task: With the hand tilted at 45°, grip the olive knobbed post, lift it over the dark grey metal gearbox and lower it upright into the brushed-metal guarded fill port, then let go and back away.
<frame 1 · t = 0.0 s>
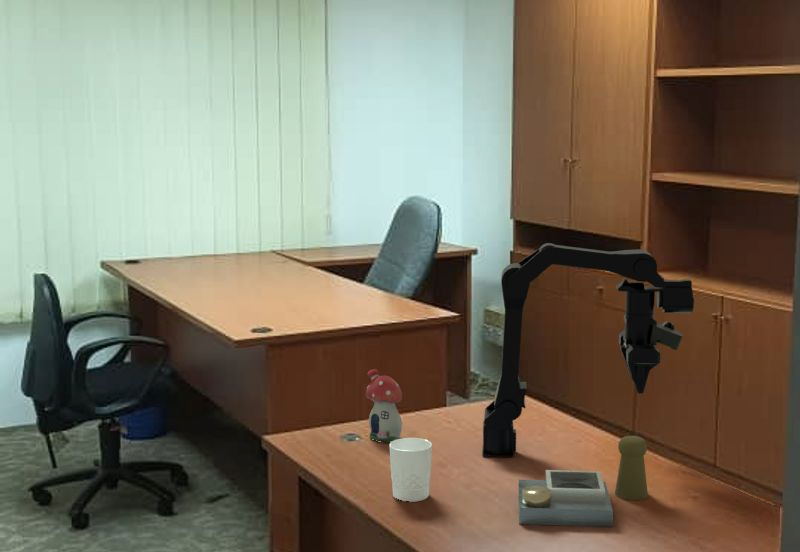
hand: (637, 387, 217), 15 cm above the table, tool pointing down, fingers open, 9 cm apart
decorative ornament: (384, 438, 232), on the table
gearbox: (563, 510, 190), on the table
white cup: (411, 496, 198), on the table
olive knobbed post: (631, 495, 198), on the table
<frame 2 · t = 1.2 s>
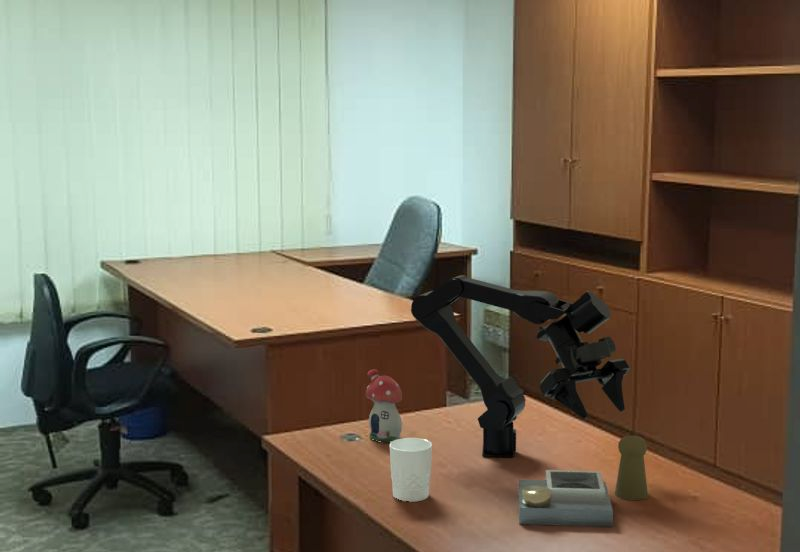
hand: (604, 414, 202), 13 cm above the table, tool tilted 45°, fingers open, 9 cm apart
nothing on the table moved.
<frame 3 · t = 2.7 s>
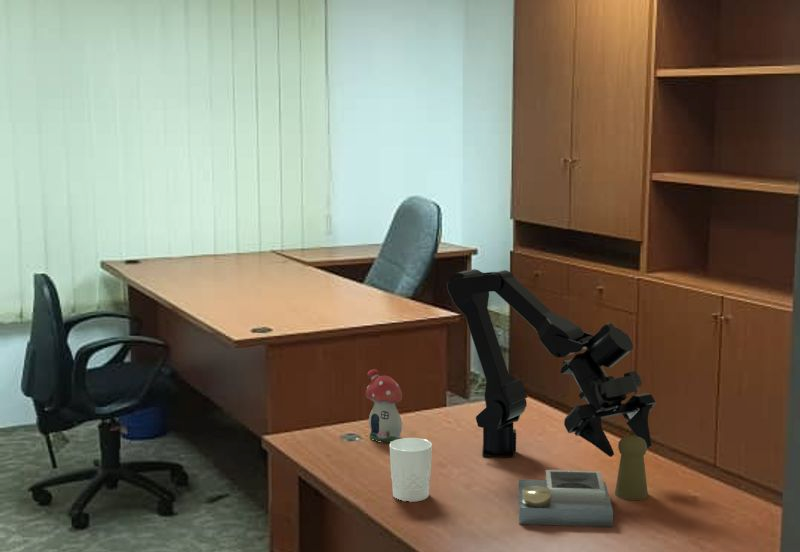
hand: (631, 451, 197), 8 cm above the table, tool tilted 45°, fingers open, 9 cm apart
nothing on the table moved.
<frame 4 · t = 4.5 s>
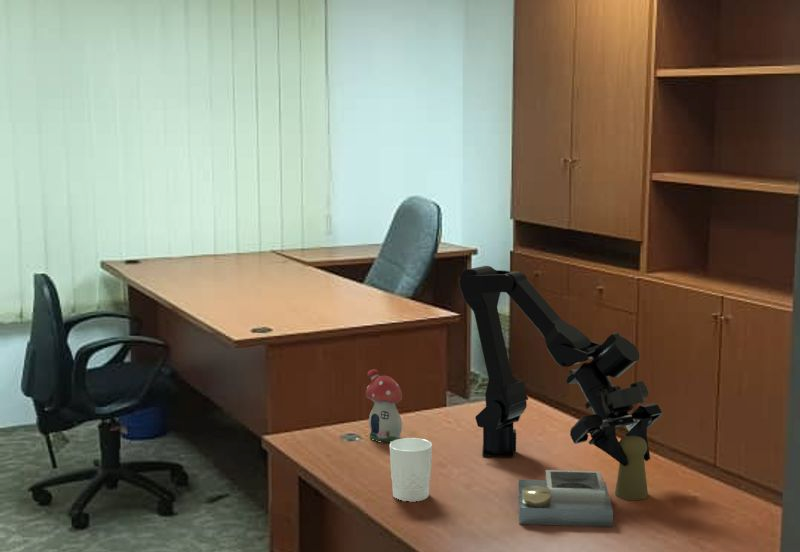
hand: (637, 462, 196), 7 cm above the table, tool tilted 45°, fingers closed on olive knobbed post, 5 cm apart
olive knobbed post: (631, 495, 198), on the table, touching gripper
everything else where it was.
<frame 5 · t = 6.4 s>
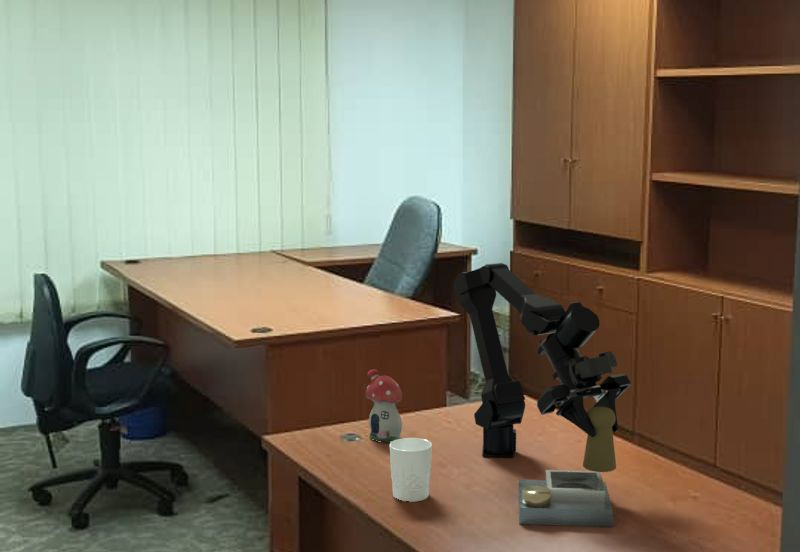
hand: (605, 433, 191), 13 cm above the table, tool tilted 45°, fingers closed on olive knobbed post, 5 cm apart
olive knobbed post: (599, 467, 194), point 6 cm above the table, touching gripper
everything else where it was.
when the fingers open (10 cm above the table, at t = 8.4 s): olive knobbed post stays where it is, resting on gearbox.
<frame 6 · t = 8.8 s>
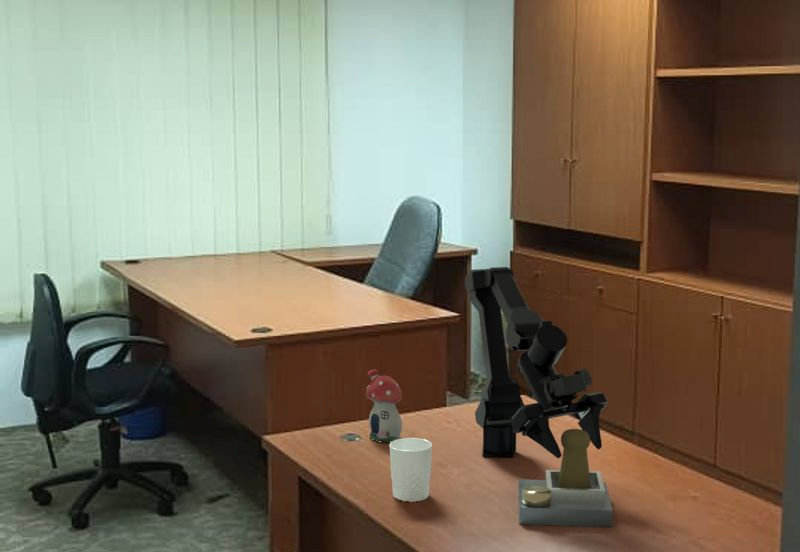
hand: (580, 452, 189), 11 cm above the table, tool tilted 45°, fingers open, 9 cm apart
olive knobbed post: (574, 490, 192), point 3 cm above the table, touching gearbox
everything else where it was.
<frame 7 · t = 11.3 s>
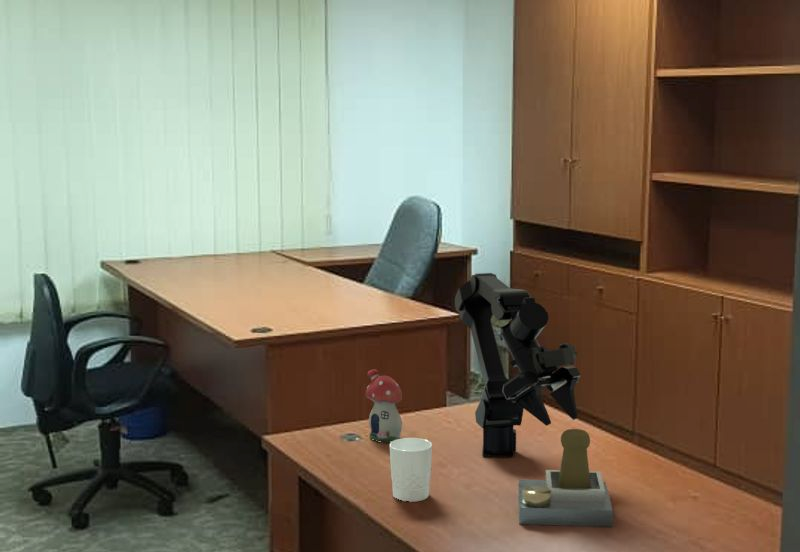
hand: (562, 421, 200), 13 cm above the table, tool tilted 40°, fingers open, 9 cm apart
nothing on the table moved.
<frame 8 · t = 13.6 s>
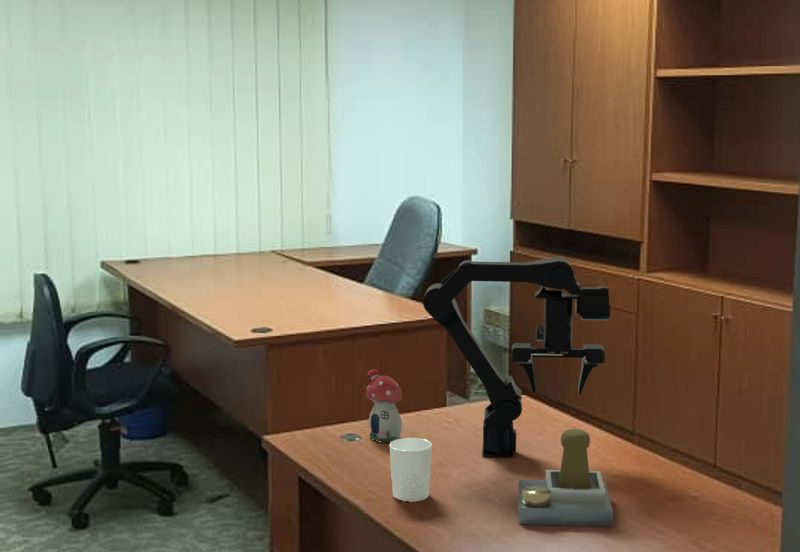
hand: (556, 393, 219), 13 cm above the table, tool pointing down, fingers open, 9 cm apart
nothing on the table moved.
at the end: olive knobbed post 0.2 cm from the target spot on the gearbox, point 3.0 cm above the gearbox's base; olive knobbed post tilted 0°; the gripper is holding nothing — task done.
